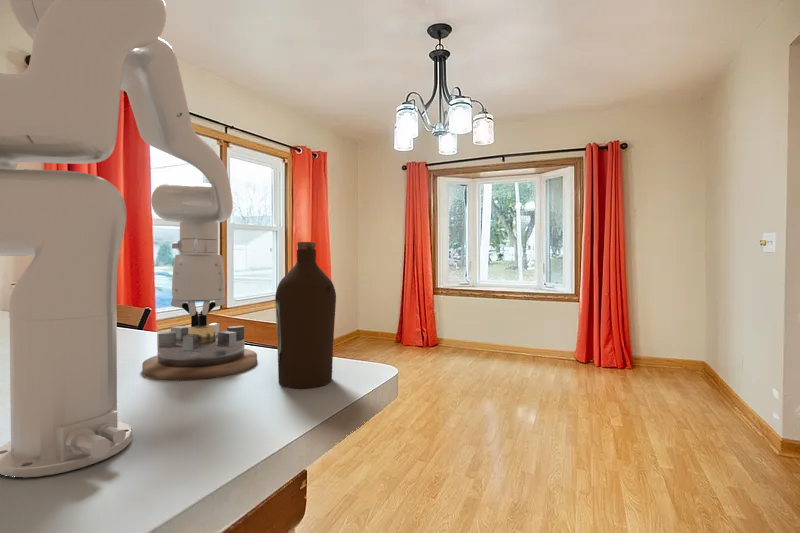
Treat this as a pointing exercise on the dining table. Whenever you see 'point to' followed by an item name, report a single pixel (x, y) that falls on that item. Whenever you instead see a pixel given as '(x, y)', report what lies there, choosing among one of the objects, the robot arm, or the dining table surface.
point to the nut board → (198, 368)
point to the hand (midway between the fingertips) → (199, 333)
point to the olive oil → (305, 323)
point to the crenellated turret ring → (200, 345)
